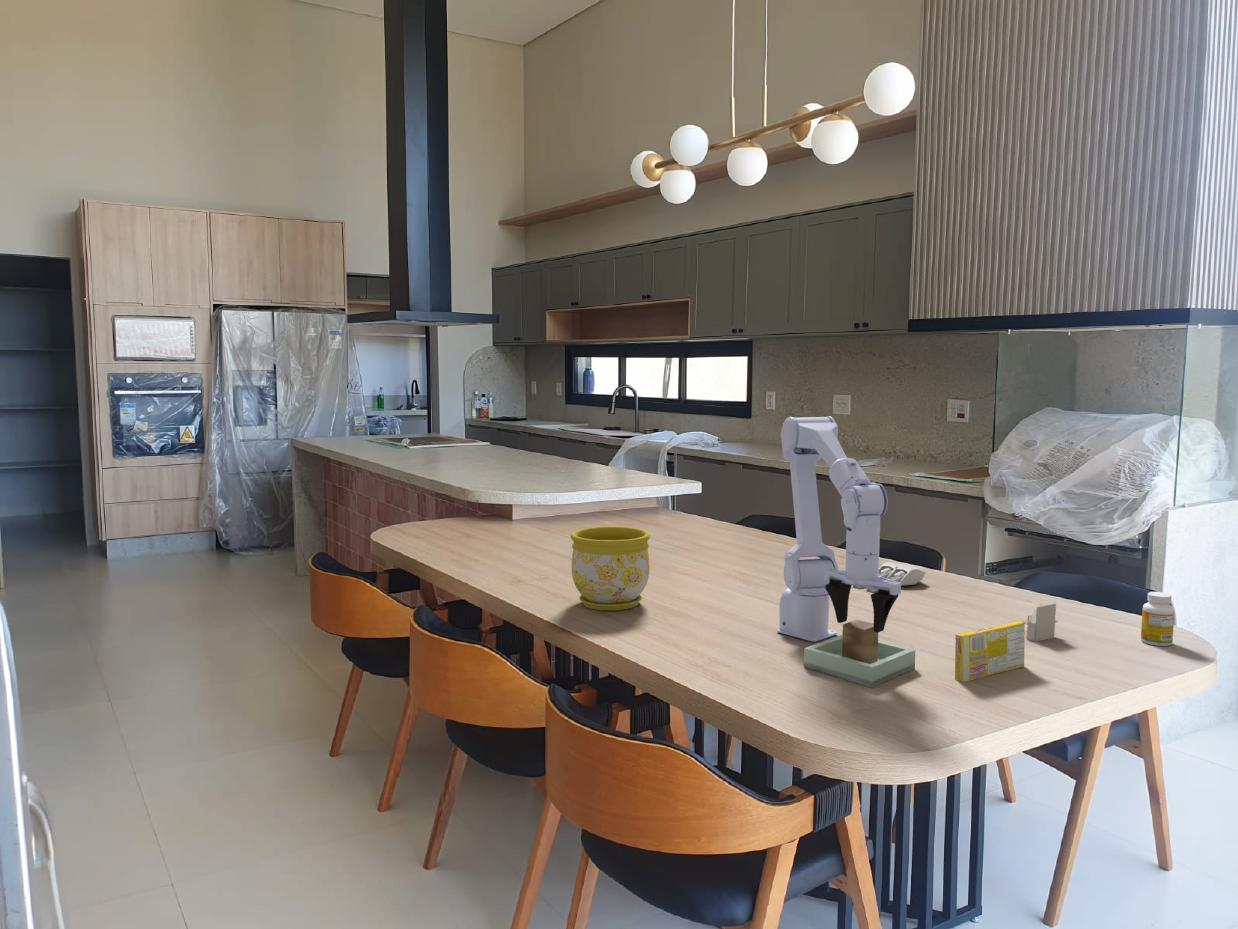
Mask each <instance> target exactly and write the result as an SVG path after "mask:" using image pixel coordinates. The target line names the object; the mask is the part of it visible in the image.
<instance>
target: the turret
mask: <svg viewBox="0 0 1238 929" xmlns="http://www.w3.org/2000/svg"><path fill="white" fill-rule="evenodd" d="M926 573H927V572H925V571H924V570H923V569H922V568H920V567H918V566H917V565H913V564H903V563H896V562H891V561H886V562H883V564H881V566H880V567H879V572H878V576H881V577H884V578H886V579H889V580H892V581H896V582H900V583H901V587H906V586H910V585H911V586H913V585H916V584H918V583H919V582H920V581H923V579H924V577H925V575H926ZM852 588H855V589H859V590H860V589H864V588H863V587H859V586H854V585H852ZM865 589H866V591H867V592H870V593H878V591H877V590H873V589H868V588H865Z"/></svg>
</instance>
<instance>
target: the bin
mask: <svg viewBox="0 0 1238 929" xmlns="http://www.w3.org/2000/svg"><path fill="white" fill-rule="evenodd" d="M842 635H843V634H841V635H838V636H835V637H832V638H829V639H827V640H824V641H821V642H818V643H815V644H813V645H810V646H807V647H804V649H803V668H806V669H809V670H811V671H816V672H819V673H823V674H824V675H825V674H826V675H829V676H832V677H837V678H839V679H843V680H845V681H849V682H853V683H855V684H859V685H861V686H862V685H863V686H865V687H869V688H873V687H877V686H878V685H881V684H883V683H885V682H887V681H889V680H892V679H894V678H897V677H900V676H901V675H903V674H906V673H908V672H911V671H913V670H915V669H916V649H913V648H911V647H906V646H903V645H897V644H895V643H890V642H886V641H882V640H879V639H878V661H877V662H874V663H872V664H868V663H864V662H861V661H857V660H853V659H850V658H846V657H843V656H842Z"/></svg>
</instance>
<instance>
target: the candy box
mask: <svg viewBox="0 0 1238 929" xmlns="http://www.w3.org/2000/svg"><path fill="white" fill-rule="evenodd" d="M1025 625H1026V624H1025V623H1023V622H1022V621H1019V620H1018V621H1017V620H1016V621H1012V622H1008V623H1003V624H1002V623H1001V624H999V625H998V624H996V625H993V626H989V627H985V628H979V629H974V630H971V631H970V630H969V631H967V632H961V633H958V634H955V644H954V645H955V650H954V651H955V656H954V660H955V662H954V680H956V681H959V682H962V683H964V681H965V682H968V681H972V680H977V679H981V678H985V677H988V676H992V675H997V674H1001V673H1005V672H1008V671H1009V672H1010V671H1012V670H1017V669H1020V668H1025Z"/></svg>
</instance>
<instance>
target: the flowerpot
mask: <svg viewBox="0 0 1238 929" xmlns="http://www.w3.org/2000/svg"><path fill="white" fill-rule="evenodd" d="M570 538H571V540H572V541H573V544H572V556H571V576H572V581H573V583H574V585H575V588H576V589H577V591H578V592H579V594H581V595H580V596H578V599H579V601H580V602H582V604H583V606H585V607H586V608H588V609H591V610H595V609H597V611H603V610H617V611H624V610H623V609H625V610H629V608H630V609H632V608H634V607H636V606H638V604H639V602H641V600H642V599H643V597H642V595H641V594H642V593H643V591H644V589H645V588H646V586H647V584H648V580H649V578H650V555H649V543H648V541H649V540H650V538H651V534H650V533H649V531H647V530H645V529H642V528H636V527H630V526H611V525H609V526H594V527H593V526H591V527H586V528H585V527H584V528H579V529H576V530H574V531H573V532H571V534H570Z"/></svg>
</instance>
